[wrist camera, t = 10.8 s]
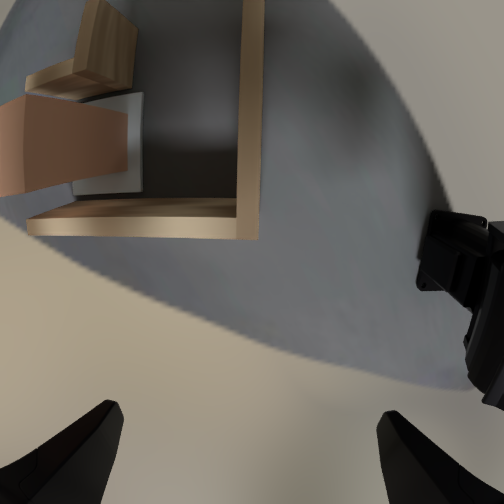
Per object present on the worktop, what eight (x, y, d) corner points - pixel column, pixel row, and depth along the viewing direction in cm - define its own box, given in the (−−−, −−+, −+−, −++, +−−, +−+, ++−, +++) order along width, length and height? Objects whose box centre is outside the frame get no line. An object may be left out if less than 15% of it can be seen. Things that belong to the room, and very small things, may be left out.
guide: (264, 18, 14) (265, -29, 9) (259, 213, 19) (258, 240, 13) (83, 44, 15) (37, 23, 9) (77, 213, 19) (28, 235, 13)
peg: (127, 170, 18) (25, 193, 8) (82, 174, 18) (-22, 200, 8) (128, 113, 16) (26, 94, 7) (81, 122, 16) (-22, 118, 7)
